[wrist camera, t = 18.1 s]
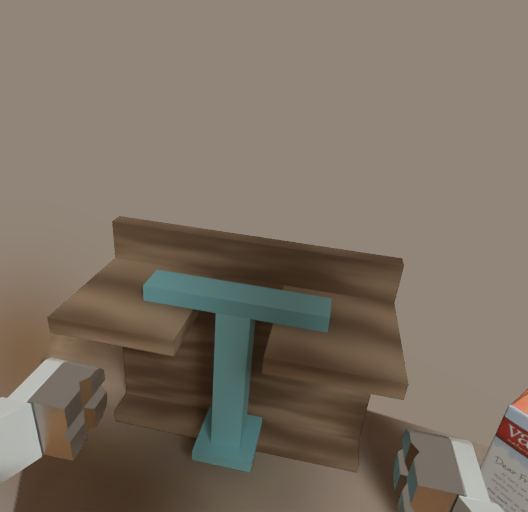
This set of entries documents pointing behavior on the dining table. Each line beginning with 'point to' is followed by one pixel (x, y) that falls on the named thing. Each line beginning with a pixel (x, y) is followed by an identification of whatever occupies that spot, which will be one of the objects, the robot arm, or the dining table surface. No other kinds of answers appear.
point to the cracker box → (509, 459)
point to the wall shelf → (265, 336)
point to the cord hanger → (234, 352)
